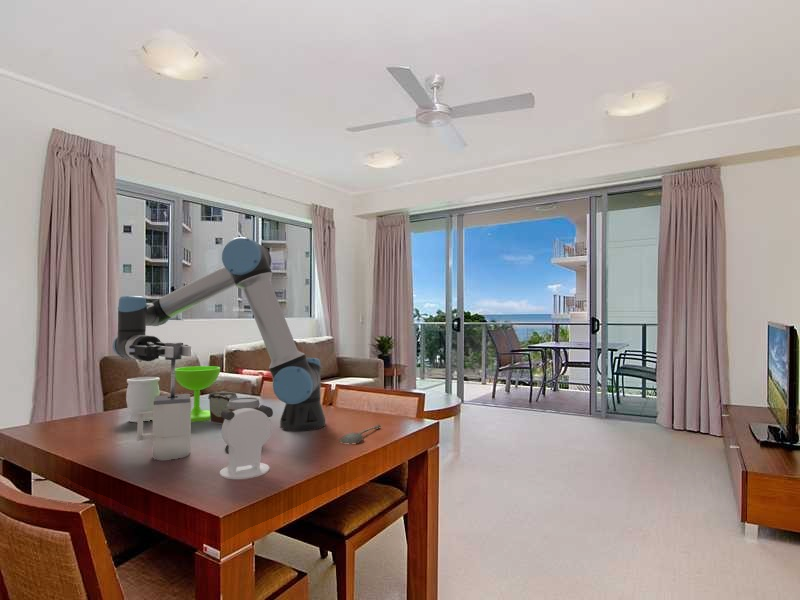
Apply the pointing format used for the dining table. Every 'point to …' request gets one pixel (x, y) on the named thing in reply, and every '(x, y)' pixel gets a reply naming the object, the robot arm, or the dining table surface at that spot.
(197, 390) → the wineglass
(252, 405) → the disposable coffee cup
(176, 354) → the plunger
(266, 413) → the panda figurine
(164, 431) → the press pot
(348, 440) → the soupspoon
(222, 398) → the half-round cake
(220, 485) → the dining table surface
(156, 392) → the jar
